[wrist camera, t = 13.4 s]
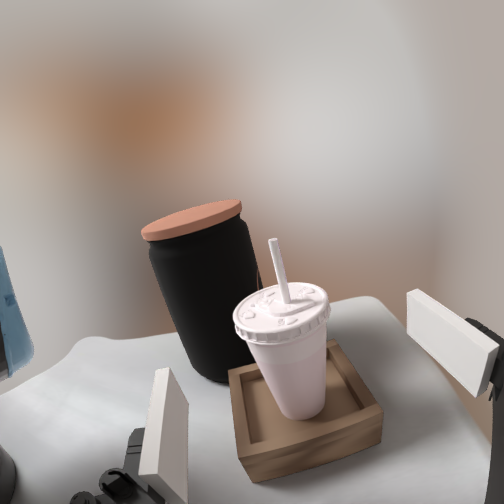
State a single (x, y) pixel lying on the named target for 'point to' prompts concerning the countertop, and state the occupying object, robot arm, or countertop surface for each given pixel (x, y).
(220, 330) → the coffee jar
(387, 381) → the countertop surface
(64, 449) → the countertop surface
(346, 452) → the wooden tray
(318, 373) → the smoothie
